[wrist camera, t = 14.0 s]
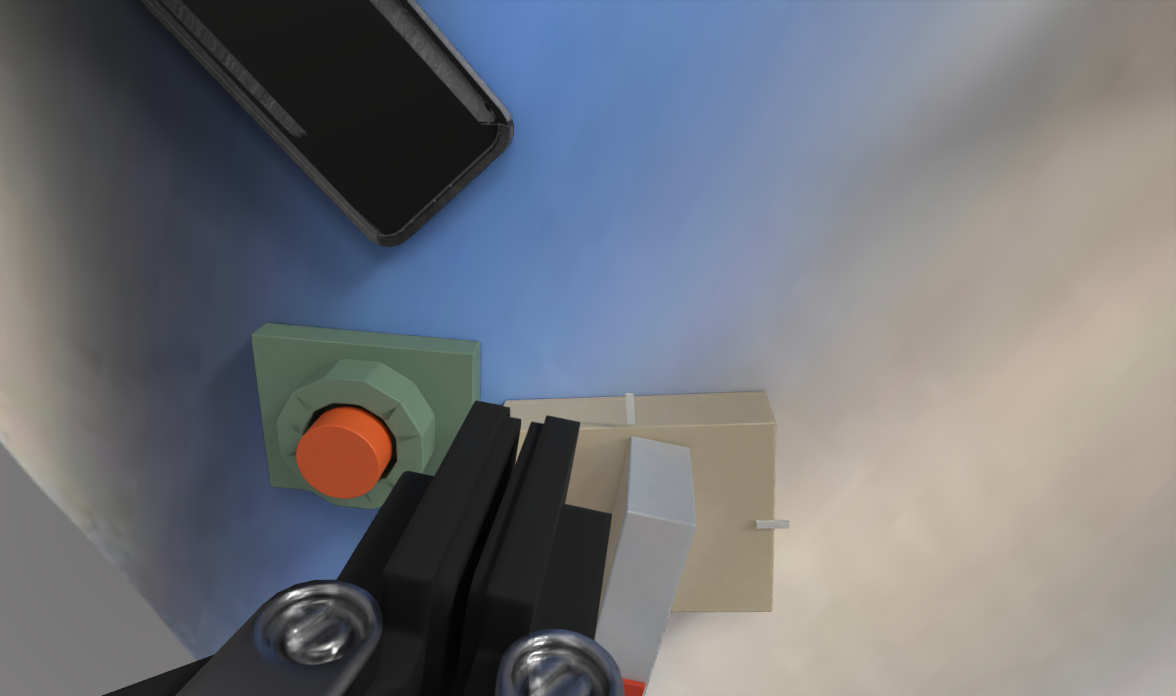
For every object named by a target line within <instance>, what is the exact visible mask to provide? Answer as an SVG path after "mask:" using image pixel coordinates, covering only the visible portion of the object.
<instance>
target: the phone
mask: <svg viewBox="0 0 1176 696" xmlns="http://www.w3.org/2000/svg"><path fill="white" fill-rule="evenodd" d="M140 1H141V2H142V3H143V4H144V5H145V6H146V7H147V8H148V9H149V10H150V12H151V13H152V14H153V15H154V16H155V17H156V18H157V19H158V20H159V21H160V22H161V23H162V24H163V25H164V26H165V27H166V28H167V29H168V30H169V31H170V32H171V33H172V34H173V35H174V37H175V38H176V39H177V40H178V41H179V42H180V43H181V44H182V45H183V46H184V47H185V48H186V49H187V50H188V51H189V52H190V53H191V54H192V55H193V56H194V57H195V58H196V59H197V60H198V62H199V63H200V64H201V65H202V66H203V67H204V68H205V69H206V70H207V71H208V72H209V73H210V74H211V75H212V76H213V77H214V78H215V79H216V80H217V81H218V82H219V83H220V84H221V86H222V87H223V88H224V89H225V90H226V91H227V92H228V93H229V94H230V95H231V96H232V97H233V98H234V99H235V100H236V101H237V102H238V103H239V104H240V105H241V106H242V107H243V108H244V109H245V111H246V112H247V113H248V114H249V115H250V116H251V117H252V118H253V119H254V120H255V121H256V122H257V123H258V124H259V125H260V126H261V127H262V128H263V129H264V130H265V131H266V132H267V133H268V135H269V136H270V137H271V138H272V139H273V140H274V141H275V142H276V143H277V144H278V145H279V146H280V147H281V148H282V149H283V150H284V151H285V152H286V153H287V154H288V155H289V156H290V157H291V158H292V160H293V161H294V162H295V163H296V164H297V165H298V166H299V167H300V168H301V169H302V170H303V171H304V172H305V173H306V174H307V175H308V176H309V177H310V178H311V179H312V180H313V181H314V182H315V184H316V185H317V186H318V187H319V188H320V189H321V190H322V191H323V192H324V193H325V194H326V195H327V196H328V197H329V198H330V199H331V200H332V201H333V202H334V203H335V204H336V205H337V206H338V208H339V209H340V210H341V211H342V212H343V213H344V214H345V215H346V216H347V217H348V218H349V219H350V220H351V221H352V222H353V223H354V224H355V225H356V226H357V227H358V228H359V229H360V230H361V232H362V233H363V234H364V235H365V236H366V237H367V238H369V239H370V240H371V241H372V242H374V243H376V244H378V245H381V246H387V247H392V246H397V245H400V244H401V243H403V242H404V241H406V240H407V239H408V238H409V237H411V236H412V235H413V234H414V233H415V232H416V231H417V230H419V229H420V228H421V227H422V226H423V225H424V224H425V223H426V222H427V221H428V220H429V219H431V218H432V217H433V216H434V215H435V214H436V213H437V212H438V211H439V210H440V209H441V208H443V207H444V206H445V205H446V204H447V203H448V202H449V201H450V200H451V199H452V198H453V197H455V196H456V195H457V194H458V193H459V192H460V191H461V190H462V189H463V188H464V187H466V186H467V185H468V184H469V183H470V182H471V181H472V180H473V179H474V178H475V177H476V176H478V175H479V174H480V173H481V172H482V171H483V170H484V169H485V168H486V167H487V166H488V165H490V164H491V163H492V162H493V161H494V160H495V159H496V158H497V157H498V156H499V155H500V154H502V153H503V152H504V151H505V150H506V148H507V147H508V146H509V145H510V143H511V140H512V137H513V132H514V125H513V121H512V117H511V115H510V113H509V112H508V110H507V109H506V107H505V106H504V105H503V104H502V103H501V101H500V100H499V99H498V98H497V97H496V96H495V94H494V93H493V92H492V91H491V90H490V89H489V87H488V86H487V85H486V84H485V83H484V81H483V80H482V79H481V78H480V77H479V76H478V74H477V73H476V72H475V71H474V70H473V69H472V67H471V66H470V65H469V64H468V63H467V61H466V60H465V59H464V58H463V57H462V56H461V54H460V53H459V52H458V51H457V50H456V49H455V47H454V46H453V45H452V44H451V43H450V41H449V40H448V39H447V38H446V37H445V36H444V34H443V33H442V32H441V31H440V30H439V29H438V27H437V26H436V25H435V24H434V23H433V22H432V20H431V19H430V18H429V17H428V16H427V14H426V13H425V12H424V11H423V10H422V9H421V7H420V6H419V5H418V4H417V3H416V2H415V0H140Z"/></svg>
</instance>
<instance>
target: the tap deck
mask: <svg viewBox="0 0 1176 696" xmlns="http://www.w3.org/2000/svg"><path fill="white" fill-rule="evenodd" d="M503 406H506V407H510V417H514V418H519V419H521V430H520V436H519V443H518V450H517V456H516V461H517V458H518V456H519V453H520V450H521V448H522V445H523V442H524V440H525V437H526V434H527V432H528V429H529V426H530V424H531V422H532V421H533V422H538V423H543V424H544V421H545V418H546V416H547V415H549V416H554V417H559V418H564V419H568V420H573V421H578V422H580V429H579V434H578V439H577V445H576V450H575V455H574V460H573V466H572V471H571V476H570V481H569V487H568V492H567V497H566V502H565V504H568V505H573V506H578V507H583V508H587V509H592V510H597V511H602V512H606V513H611V512H612V508H613V504H614V500H615V496H616V492H617V488H618V484H619V480H620V476H621V472H622V468H623V464H624V460H625V456H626V452H627V448H628V444H629V440H630V437H631V436H637V437H641V438H646V439H651V440H656V441H660V442H665V443H670V444H675V445H679V446H684V447H689V448H690V452H691V464H692V477H693V489H694V501H695V513H696V525H697V527H696V530H695V533H694V536H693V540H692V543H691V546H690V549H689V553H688V556H687V559H686V563H685V566H684V569H683V572H682V576H681V579H680V582H679V585H678V589H677V592H676V595H675V598H674V602H673V605H672V608H671V611H670V612H771V611H772V610H773V566H774V528H789V520H774V510H775V454H776V422H775V418H774V415H773V412H772V409H771V405H770V402H769V399H768V395H767V392H765V391H761V392H733V393H704V394H676V395H647V396H634V394H633V393H625V396H619V397H590V398H562V399H533V400H507V401H505V403H504V405H503ZM515 464H516V463H515Z"/></svg>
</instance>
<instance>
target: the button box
mask: <svg viewBox="0 0 1176 696" xmlns="http://www.w3.org/2000/svg"><path fill="white" fill-rule="evenodd" d="M251 340H252V347H253V355H254V363H255V371H256V378H257V386H258V394H259V402H260V409H261V417H262V425H263V433H264V440H265V448H266V456H267V463H268V471H269V479H270V486H271V487H281V488H291V489H301V490H309V491H311V492H312V493H314V494H316V495H318V496H319V497H321V498H323V499H325V500H326V501H328V502H330V503H332V504H333V505H337V506H344V507H354V508H364V509H376V508H378V507H381V506H382V505H383V503H384V502H385V500H386V499H387V497H388V495H389V494H390V492H391V490H392V489H393V487H394V486H395V484H396V482H397V481H398V479H399V477H400V476H401V475H402V474H403V472H405V471H412V472H417V473H422V474H426V475H431V476H435V474H436V472H437V470H438V468H439V466H440V465H441V463H442V461H443V459H444V457H445V455H446V453H447V452H448V450H449V448H450V446H451V444H452V442H453V441H454V439H455V437H456V435H457V433H458V431H459V429H460V428H461V426H462V424H463V422H464V420H465V418H466V416H467V415H468V413H469V411H470V409H471V407H472V405H473V404H474V402H475V401H480V342H479V341H469V340H457V339H446V338H434V337H423V336H411V335H400V334H388V333H377V332H365V331H354V330H342V329H331V328H319V327H308V326H297V325H285V324H274V323H266V324H264V325H263V326H262V327H260V328H259V329H258V330H256V331H255V332H254V333H252V334H251ZM342 406H351V407H356V408H360V409H363V410H365V411H367V412H369V413H371V414H373V415H374V416H375V417H377V418H378V419H379V420H380V421H381V422H382V423H383V424H384V426H385V427H386V428H387V430H388V432H389V434H390V437H391V440H392V446H393V448H392V456H391V459H390V461H389V463H388V465H387V466H386V468H385V470H384V471H383V473H382V474H381V476H380V478H379V479H378V481H377V483H376V484H375V485H374V487H373V488H372V489H371V490H370V491H368V492H367V493H365V494H363V495H361V496H359V497H355V498H349V499H341V498H335V497H331V496H328V495H325V494H323V493H321V492H319V491H318V490H316V489H315V488H314V487H312V486H311V485H310V484H309V483H308V482H307V481H306V480H305V478H304V477H303V476H302V474H301V472H300V470H299V468H298V465H297V461H296V449H297V446H298V443H299V441H300V439H301V438H302V436H303V435H304V434H305V433H306V432H307V431H308V429H309V428H310V427H311V426H312V425H313V424H314V422H315V421H316V420H317V419H318V418H319V417H320V416H321V415H322V414H323V413H324V412H326V411H328V410H330V409H332V408H336V407H342Z"/></svg>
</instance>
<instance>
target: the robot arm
mask: <svg viewBox="0 0 1176 696" xmlns="http://www.w3.org/2000/svg"><path fill="white" fill-rule="evenodd" d="M579 429H580V422H578V421H573V420H568V419H564V418H559V417H554V416H549V415H547V416H546V418H545V421H544V424H543V423H538V422H533V421H532V422H531V424H530V426H529V429H528V432H527V434H526V437H525V440H524V442H523V445H522V448H521V450H520V453H519V456H518V458H517V461H516V456H517V450H518V443H519V436H520V430H521V419H519V418H514V417H510V407H506V406H501V405H496V404H491V403H486V402H482V401H475V402H474V404H473V405H472V407H471V409H470V411H469V413H468V415H467V416H466V418H465V420H464V422H463V424H462V426H461V428H460V429H459V431H458V433H457V435H456V437H455V439H454V441H453V442H452V444H451V446H450V448H449V450H448V452H447V453H446V455H445V457H444V459H443V461H442V463H441V465H440V466H439V468H438V470H437V472H436V474H435V476H431V475H426V474H422V473H417V472H412V471H405V472H403V474H402V475H401V476H400V477H399V479H398V481H397V482H396V484H395V486H394V487H393V489H392V490H391V492H390V494H389V495H388V497H387V499H386V500H385V502H384V503H383V505H382V507H381V508H380V510H379V512H378V513H377V515H376V516H375V518H374V520H373V521H372V523H371V525H370V526H369V528H368V529H367V531H366V533H365V534H364V536H363V538H362V539H361V541H360V542H359V544H358V546H357V547H356V549H355V551H354V552H353V554H352V555H351V557H350V559H349V560H348V562H347V564H346V565H345V567H344V569H343V570H342V572H341V573H340V575H339V577H338V578H337V580H313V581H309V582H304V583H300V584H295V585H293V586H291V587H289V588H287V589H285V590H283V591H280V592H278V593H277V594H275V595H274V596H273V597H272V598H270V599H269V600H268V601H267V602H265V603H264V604H263V605H262V606H261V607H260V608H259V609H258V610H257V611H256V612H255V613H254V614H253V615H252V616H251V617H250V618H249V619H248V620H247V621H246V622H245V624H244V625H243V626H242V627H241V628H240V629H239V630H238V631H237V632H236V633H235V634H234V635H233V636H232V637H231V638H230V639H229V640H228V641H227V642H226V643H225V644H224V645H223V646H222V647H221V648H220V650H219V651H218V652H217V653H216V654H215V655H212V656H209V657H206V658H204V659H201V660H198V661H196V662H193V663H190V664H188V665H185V666H182V667H179V668H177V669H174V670H171V671H168V672H165V673H163V674H160V675H157V676H155V677H152V678H149V679H146V680H144V681H141V682H138V683H136V684H133V685H130V686H127V687H124V688H122V689H119V690H116V691H114V692H111V693H108V694H105V695H103V696H625V693H624V683H623V680H622V676H621V672H620V669H619V666H618V665H617V663H616V662H615V660H614V659H613V657H612V656H611V654H610V653H609V652H608V651H607V650H606V649H604V648H603V647H602V646H601V645H600V644H599V643H597V642H596V641H594V640H595V633H596V626H597V619H598V612H599V605H600V598H601V591H602V584H603V576H604V569H605V562H606V555H607V548H608V541H609V534H610V527H611V519H612V514H611V513H606V512H602V511H597V510H592V509H587V508H583V507H578V506H573V505H568V504H565V502H566V497H567V492H568V487H569V481H570V476H571V471H572V466H573V460H574V455H575V450H576V445H577V439H578V434H579ZM515 463H516V464H515Z"/></svg>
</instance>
